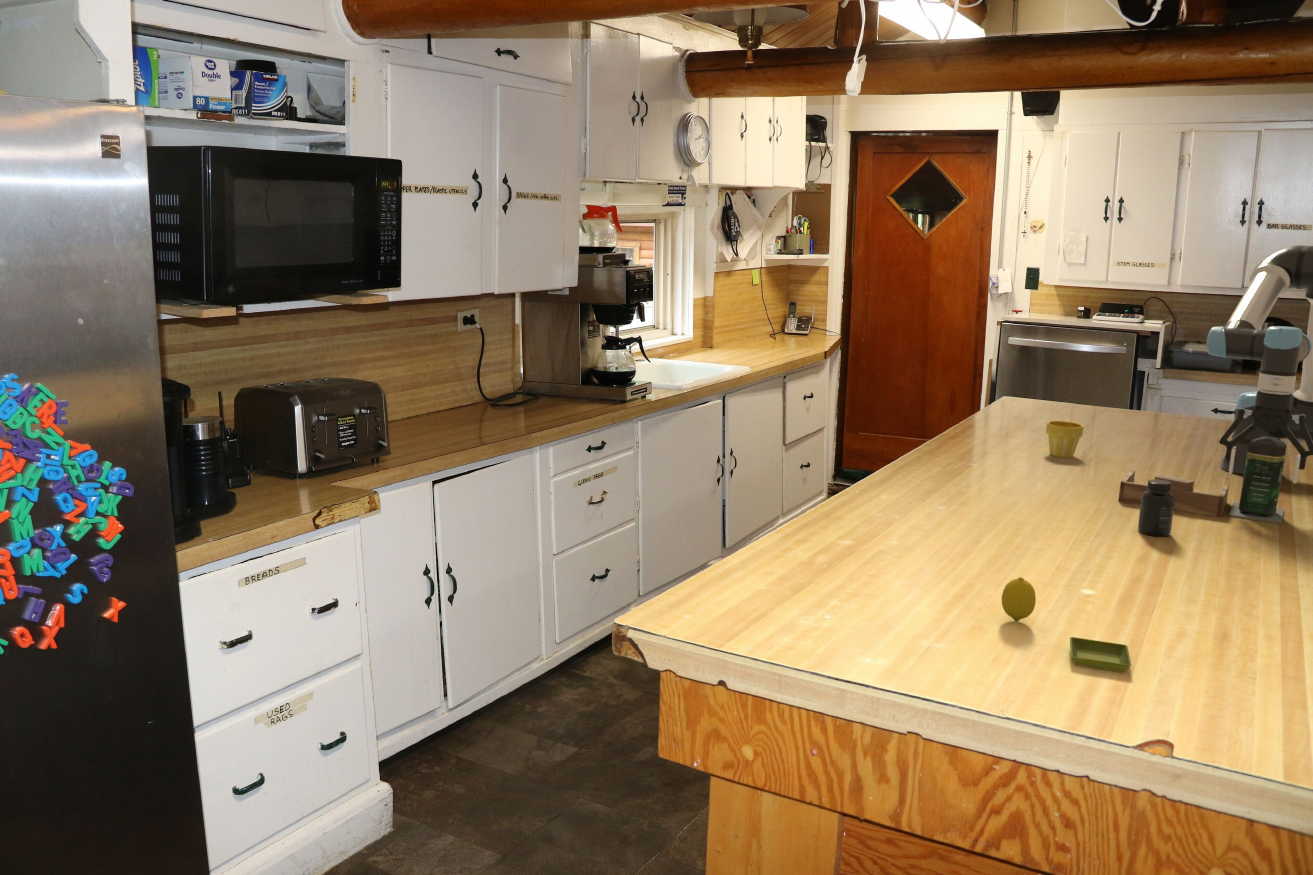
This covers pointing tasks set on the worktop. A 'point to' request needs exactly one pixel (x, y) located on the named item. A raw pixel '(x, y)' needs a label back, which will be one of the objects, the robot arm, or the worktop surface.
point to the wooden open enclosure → (1177, 497)
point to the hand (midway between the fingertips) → (1262, 477)
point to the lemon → (1018, 599)
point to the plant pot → (1063, 437)
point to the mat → (1273, 518)
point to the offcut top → (1177, 482)
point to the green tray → (1100, 654)
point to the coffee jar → (1262, 476)
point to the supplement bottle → (1156, 509)
